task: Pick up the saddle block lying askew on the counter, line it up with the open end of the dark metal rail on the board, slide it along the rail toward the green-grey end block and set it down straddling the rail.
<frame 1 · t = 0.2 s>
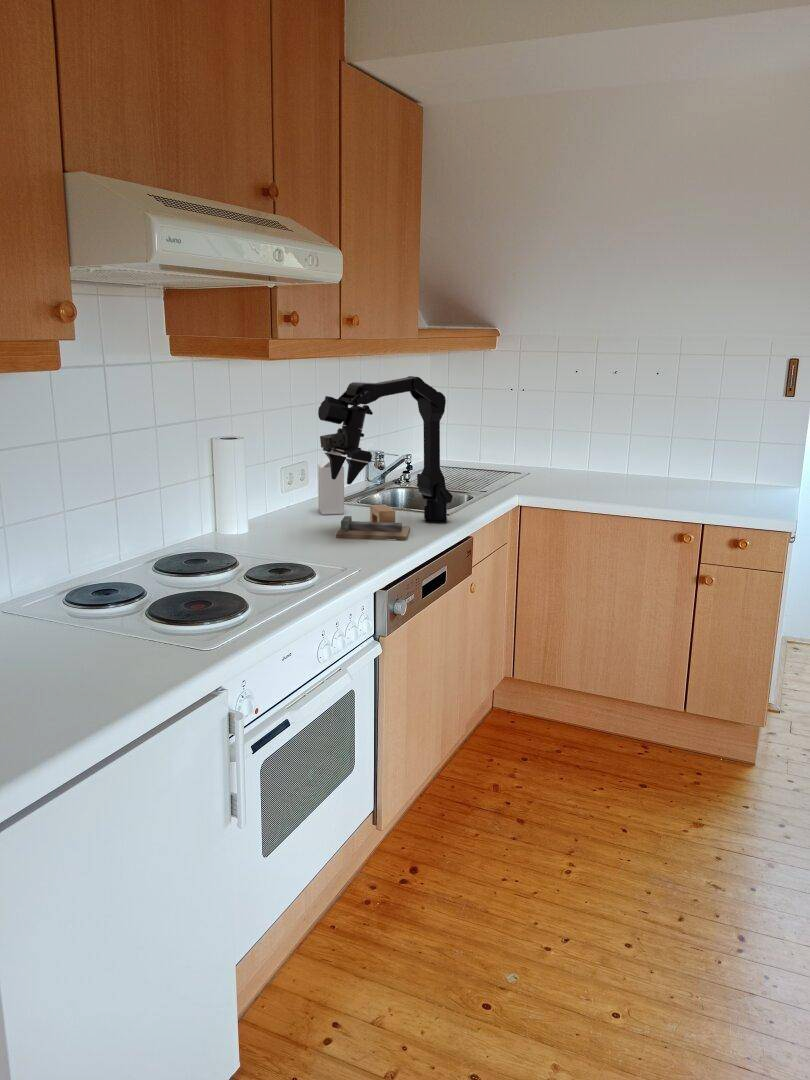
hand: (340, 481, 237), 15 cm above the worktop, tool pointing down, fingers open, 9 cm apart
milk carton: (331, 513, 268), on the worktop
saddle: (382, 523, 254), on the worktop
rail board: (373, 534, 242), on the worktop
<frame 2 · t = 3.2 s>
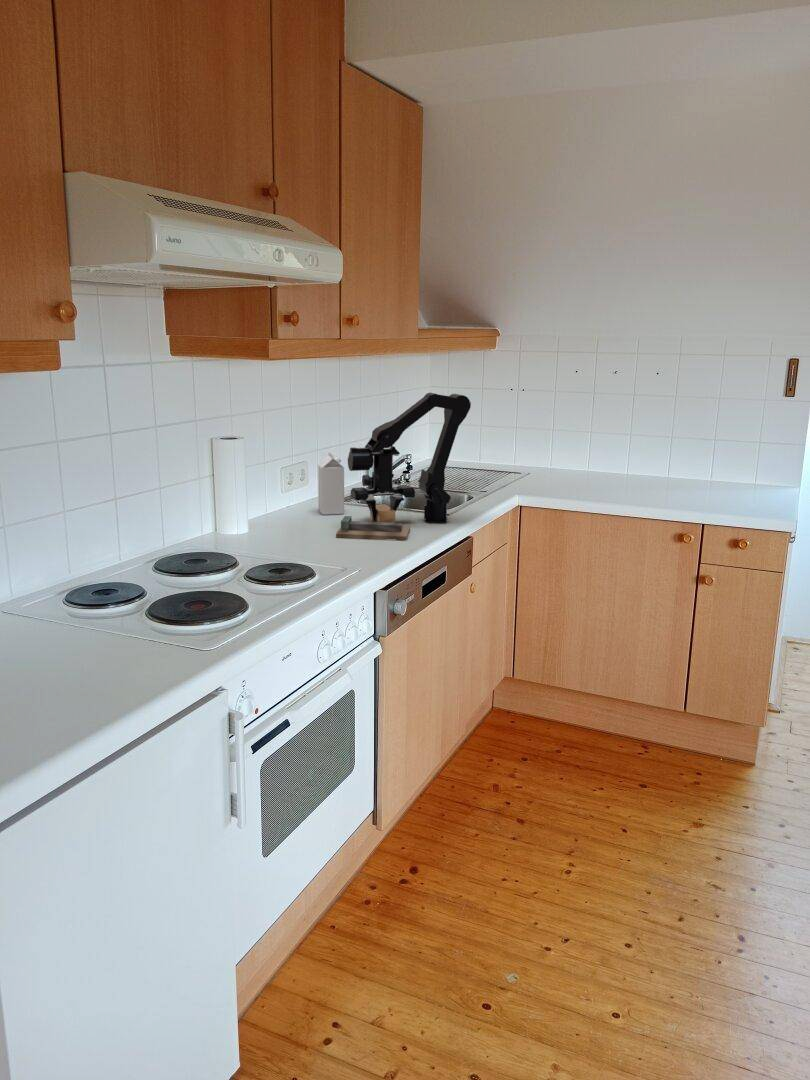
hand: (382, 520, 254), 1 cm above the worktop, tool pointing down, fingers closed on saddle, 5 cm apart
saddle: (382, 523, 254), on the worktop, touching gripper
everything else where it was.
when the fingers open (4 cm above the worktop, at t = 10.8 s): saddle drops 2 cm, resting on rail board.
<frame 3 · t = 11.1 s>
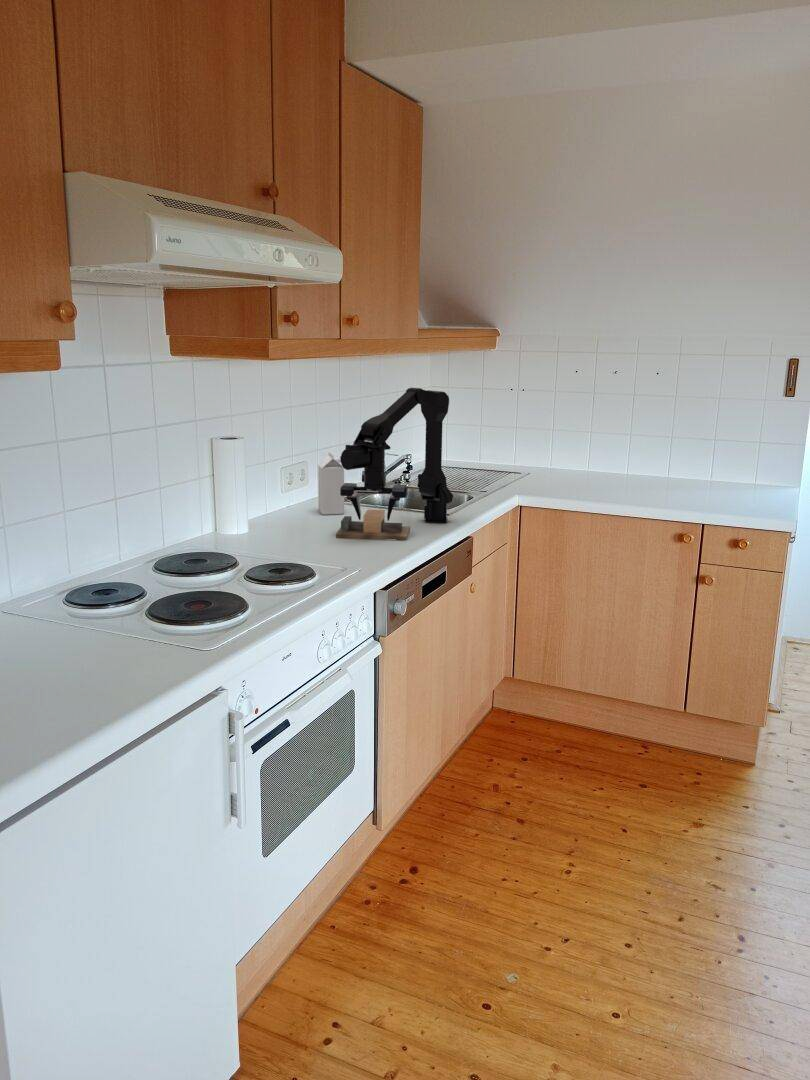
hand: (374, 519, 241), 4 cm above the worktop, tool pointing down, fingers open, 8 cm apart
saddle: (374, 530, 241), point 1 cm above the worktop, touching rail board
everything else where it was.
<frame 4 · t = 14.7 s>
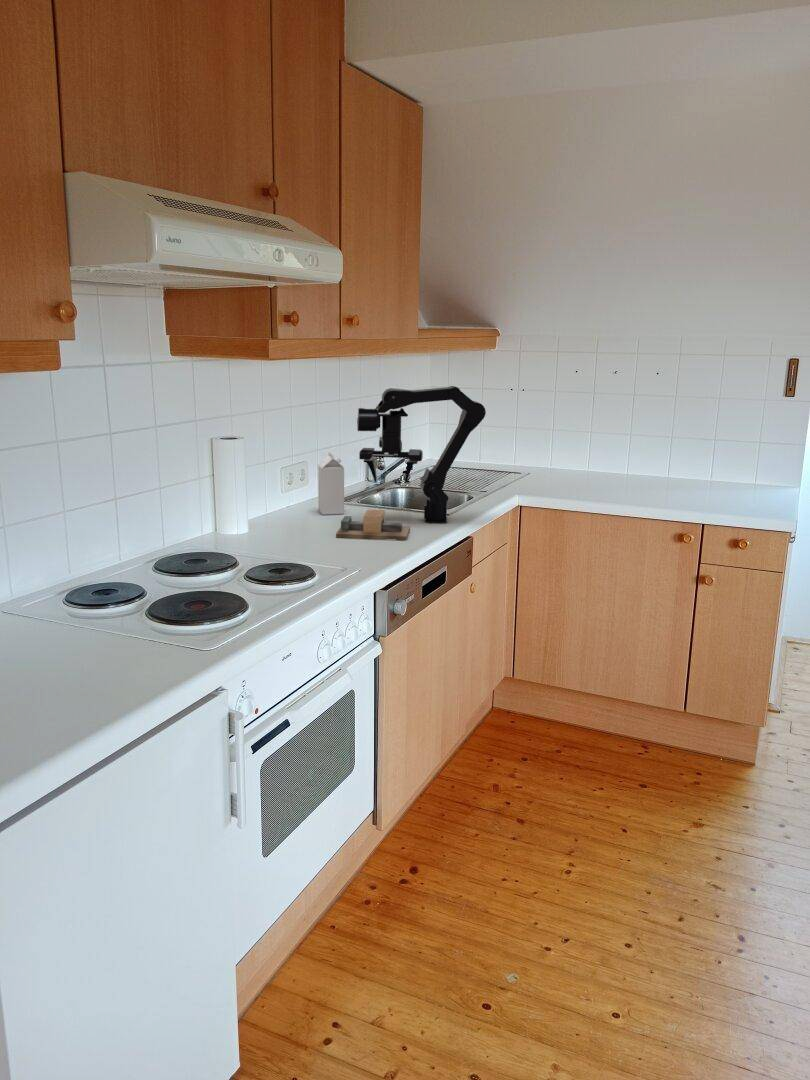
hand: (390, 482, 255), 12 cm above the worktop, tool pointing down, fingers open, 9 cm apart
nothing on the worktop moved.
at the end: saddle 0.1 cm off-centre on the rail board, point 1.2 cm above the rail board's base; saddle tilted 0°; the gripper is holding nothing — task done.
